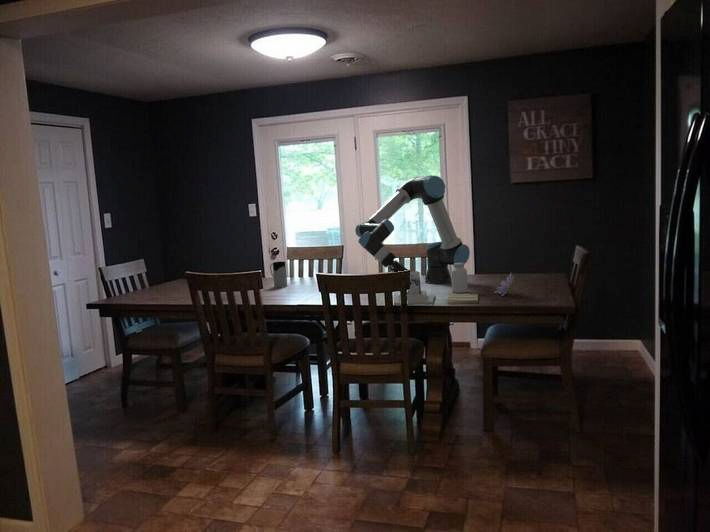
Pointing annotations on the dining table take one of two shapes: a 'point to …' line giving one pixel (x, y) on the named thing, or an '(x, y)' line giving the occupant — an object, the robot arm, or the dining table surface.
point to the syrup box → (415, 279)
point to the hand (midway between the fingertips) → (417, 286)
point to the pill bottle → (459, 278)
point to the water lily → (505, 285)
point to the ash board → (462, 298)
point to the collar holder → (416, 298)
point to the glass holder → (279, 274)
